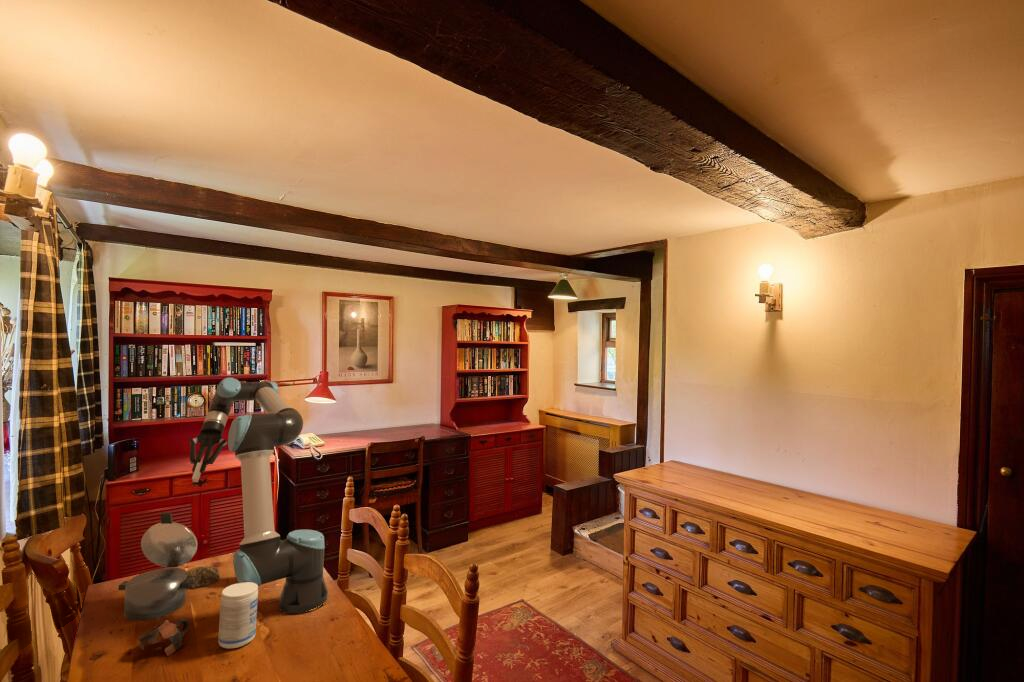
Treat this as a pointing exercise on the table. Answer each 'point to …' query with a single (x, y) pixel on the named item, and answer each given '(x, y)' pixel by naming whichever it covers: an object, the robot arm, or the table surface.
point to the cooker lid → (169, 543)
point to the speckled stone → (203, 576)
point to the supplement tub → (238, 615)
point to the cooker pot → (155, 593)
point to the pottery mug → (166, 634)
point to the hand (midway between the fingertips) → (194, 480)
